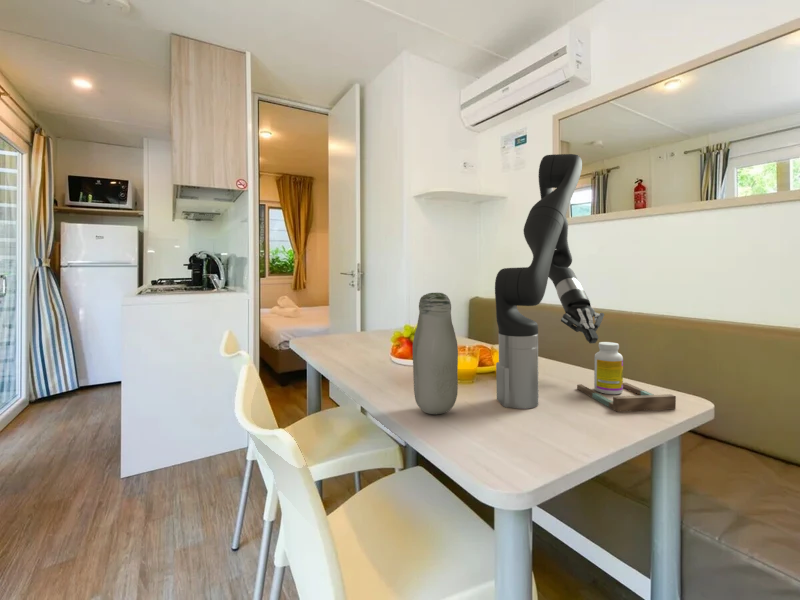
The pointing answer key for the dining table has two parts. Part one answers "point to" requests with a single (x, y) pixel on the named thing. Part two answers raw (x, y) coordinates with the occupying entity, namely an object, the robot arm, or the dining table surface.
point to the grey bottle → (435, 355)
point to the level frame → (634, 400)
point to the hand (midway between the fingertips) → (594, 341)
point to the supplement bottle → (608, 369)
